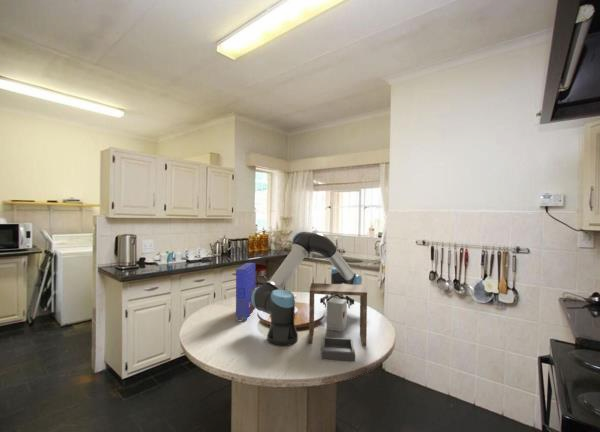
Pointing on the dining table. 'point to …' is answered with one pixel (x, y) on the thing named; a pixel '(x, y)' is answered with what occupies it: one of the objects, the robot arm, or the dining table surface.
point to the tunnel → (340, 290)
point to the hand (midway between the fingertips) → (337, 305)
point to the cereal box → (244, 290)
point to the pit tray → (338, 349)
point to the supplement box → (336, 314)
